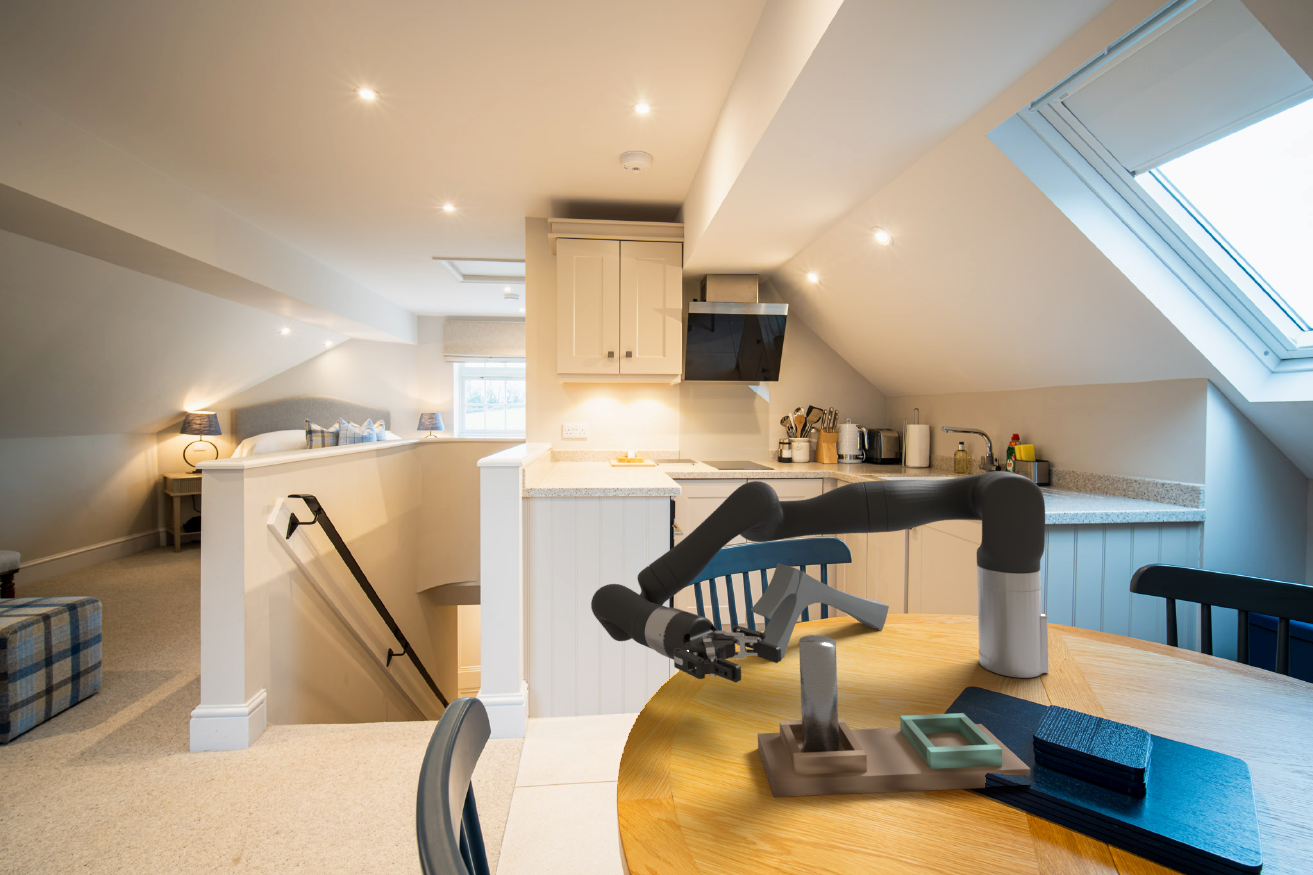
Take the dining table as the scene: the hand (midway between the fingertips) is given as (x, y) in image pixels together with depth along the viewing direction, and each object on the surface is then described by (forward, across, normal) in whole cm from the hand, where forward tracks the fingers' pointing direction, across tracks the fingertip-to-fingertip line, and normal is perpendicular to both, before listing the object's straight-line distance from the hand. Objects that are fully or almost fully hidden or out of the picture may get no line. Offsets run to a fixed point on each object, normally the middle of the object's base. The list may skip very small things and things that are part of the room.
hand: (760, 664), depth 79 cm
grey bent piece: (-14, +36, +11) cm, 40 cm away
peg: (+9, 0, +8) cm, 13 cm away
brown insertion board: (+14, +6, +10) cm, 19 cm away
